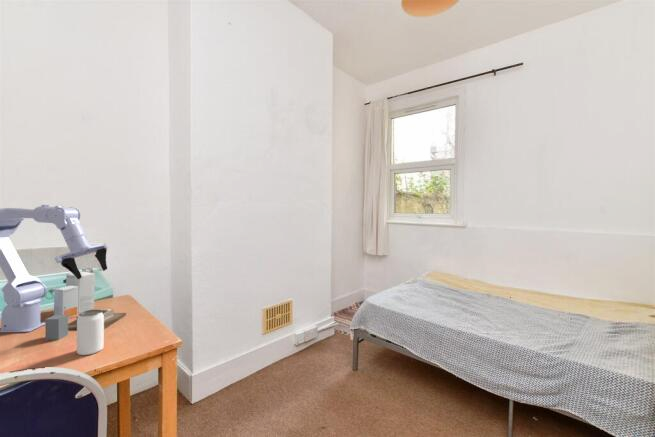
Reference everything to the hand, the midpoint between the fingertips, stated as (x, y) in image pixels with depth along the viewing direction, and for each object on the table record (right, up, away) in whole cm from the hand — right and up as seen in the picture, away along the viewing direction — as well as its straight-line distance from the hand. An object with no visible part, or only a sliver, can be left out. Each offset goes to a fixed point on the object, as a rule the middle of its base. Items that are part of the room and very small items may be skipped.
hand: (93, 273), depth 102 cm
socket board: (-7, -20, +10) cm, 24 cm away
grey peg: (-10, -21, -3) cm, 23 cm away
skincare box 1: (-22, -20, +14) cm, 32 cm away
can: (+8, -22, -11) cm, 26 cm away
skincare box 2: (-23, -20, +22) cm, 38 cm away
